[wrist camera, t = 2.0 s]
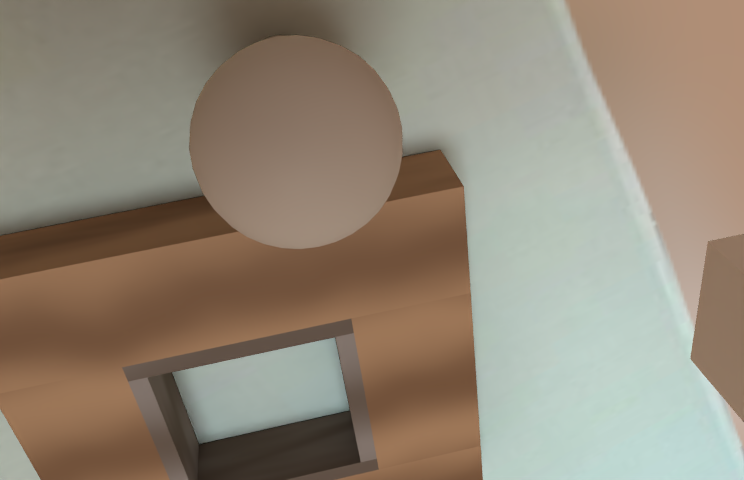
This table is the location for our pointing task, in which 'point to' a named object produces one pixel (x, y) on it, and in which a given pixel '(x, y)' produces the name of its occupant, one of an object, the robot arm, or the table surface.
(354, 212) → the lightbulb
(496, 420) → the table surface
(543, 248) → the table surface
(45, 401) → the socket base
